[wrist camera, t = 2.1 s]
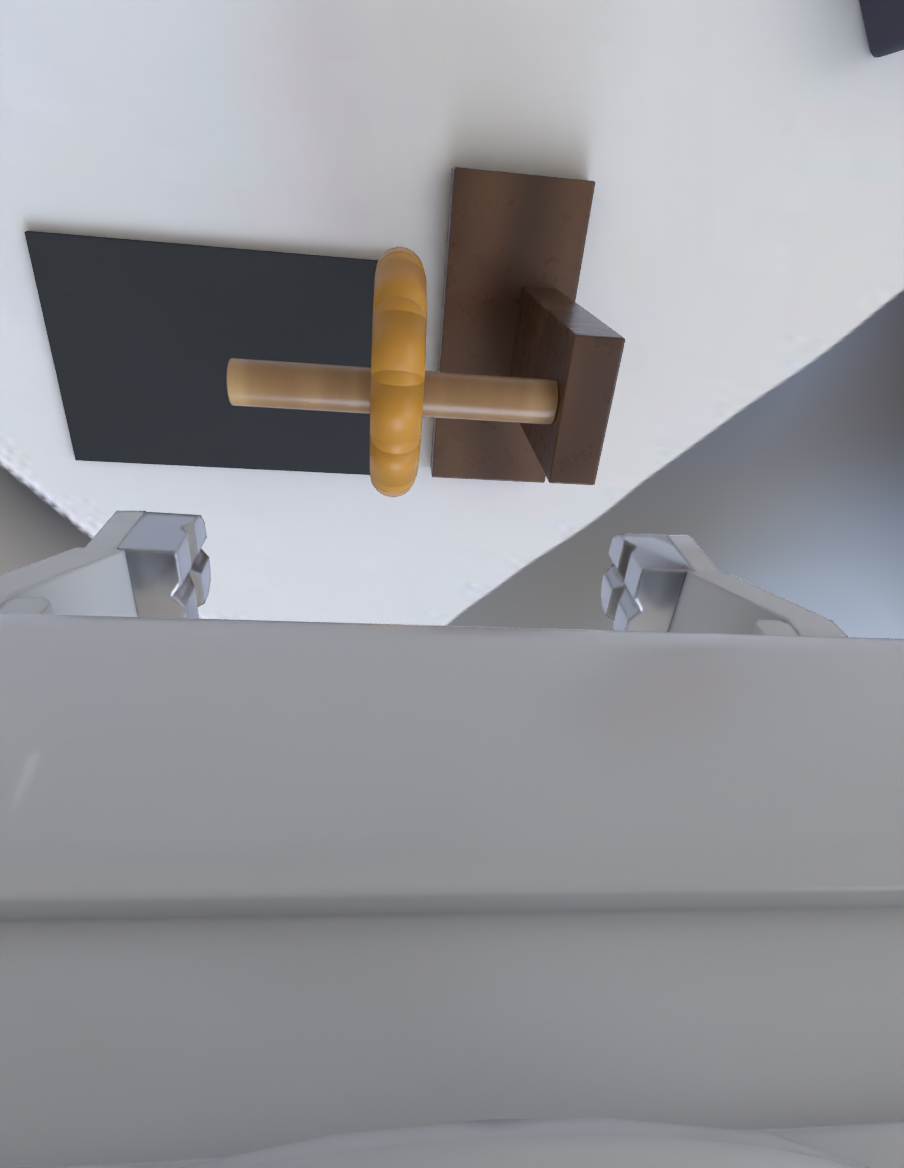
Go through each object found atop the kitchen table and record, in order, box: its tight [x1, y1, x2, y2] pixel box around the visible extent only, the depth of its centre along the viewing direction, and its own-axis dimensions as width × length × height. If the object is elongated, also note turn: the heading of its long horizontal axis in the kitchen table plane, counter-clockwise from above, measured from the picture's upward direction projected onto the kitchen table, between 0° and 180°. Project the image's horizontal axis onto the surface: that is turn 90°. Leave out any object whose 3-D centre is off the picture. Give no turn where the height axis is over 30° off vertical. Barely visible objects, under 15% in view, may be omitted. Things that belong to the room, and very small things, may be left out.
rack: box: [227, 167, 625, 485], centre depth 32 cm, size 16×16×14 cm
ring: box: [370, 247, 427, 497], centre depth 29 cm, size 10×2×10 cm, turn 175°
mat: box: [25, 231, 378, 475], centre depth 37 cm, size 19×12×1 cm, turn 85°
